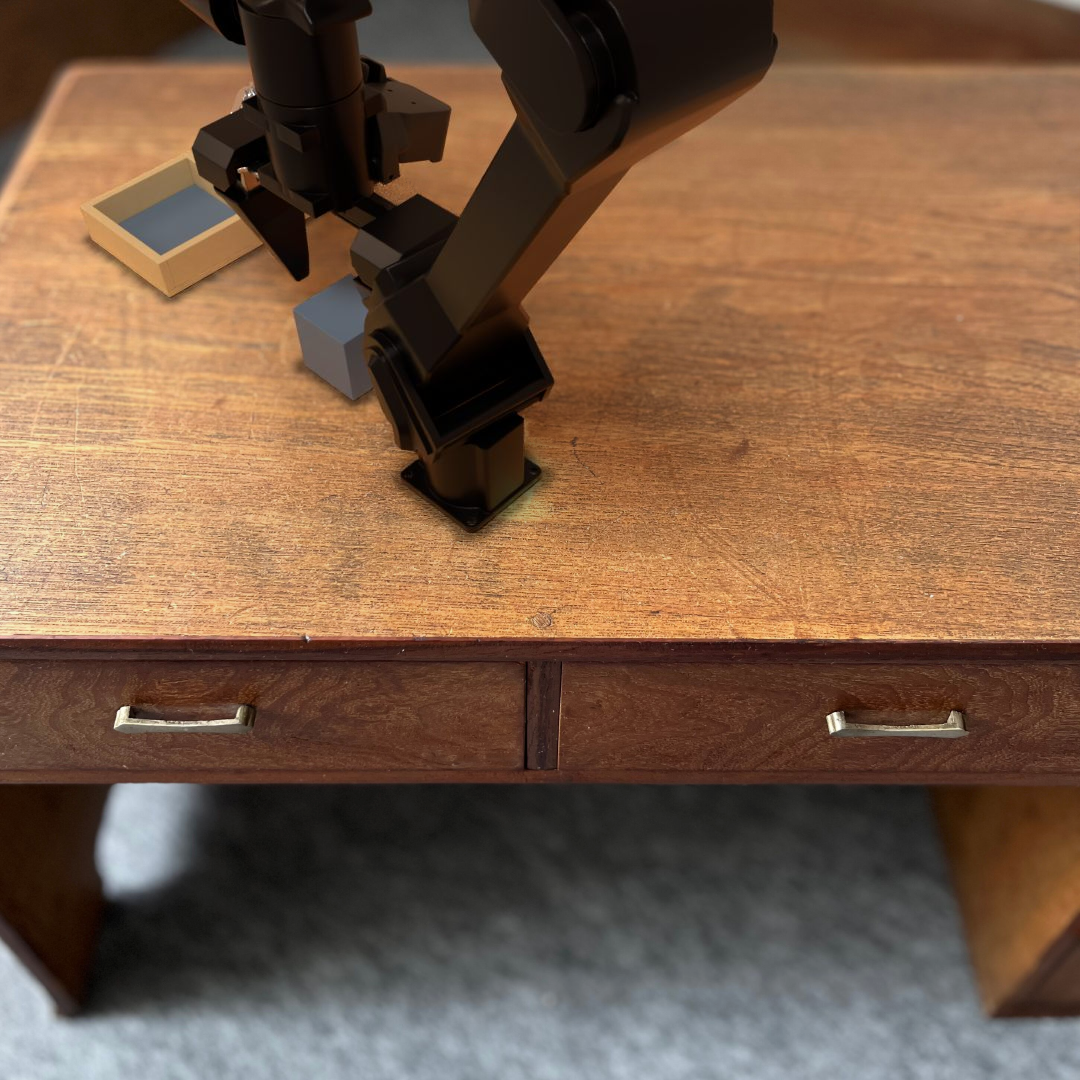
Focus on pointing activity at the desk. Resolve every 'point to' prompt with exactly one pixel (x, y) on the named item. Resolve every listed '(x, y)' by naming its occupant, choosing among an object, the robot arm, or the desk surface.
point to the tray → (169, 226)
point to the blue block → (335, 337)
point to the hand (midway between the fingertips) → (348, 309)
